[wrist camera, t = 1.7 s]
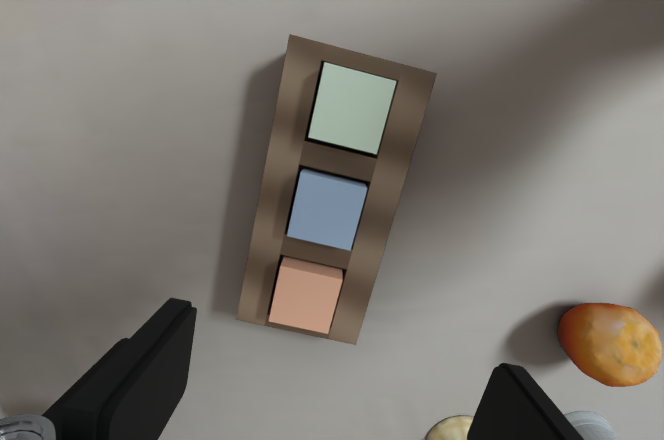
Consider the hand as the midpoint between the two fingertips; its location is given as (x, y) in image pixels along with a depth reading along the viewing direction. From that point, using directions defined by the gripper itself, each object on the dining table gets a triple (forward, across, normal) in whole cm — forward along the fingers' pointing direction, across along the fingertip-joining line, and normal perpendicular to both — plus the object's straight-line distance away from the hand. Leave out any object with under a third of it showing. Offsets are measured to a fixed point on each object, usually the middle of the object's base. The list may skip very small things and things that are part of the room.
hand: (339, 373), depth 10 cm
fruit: (+24, -30, +7) cm, 39 cm away
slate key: (+21, +1, -1) cm, 21 cm away
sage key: (+21, +1, -9) cm, 23 cm away
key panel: (+24, +1, -1) cm, 24 cm away
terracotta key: (+21, +1, +8) cm, 22 cm away
